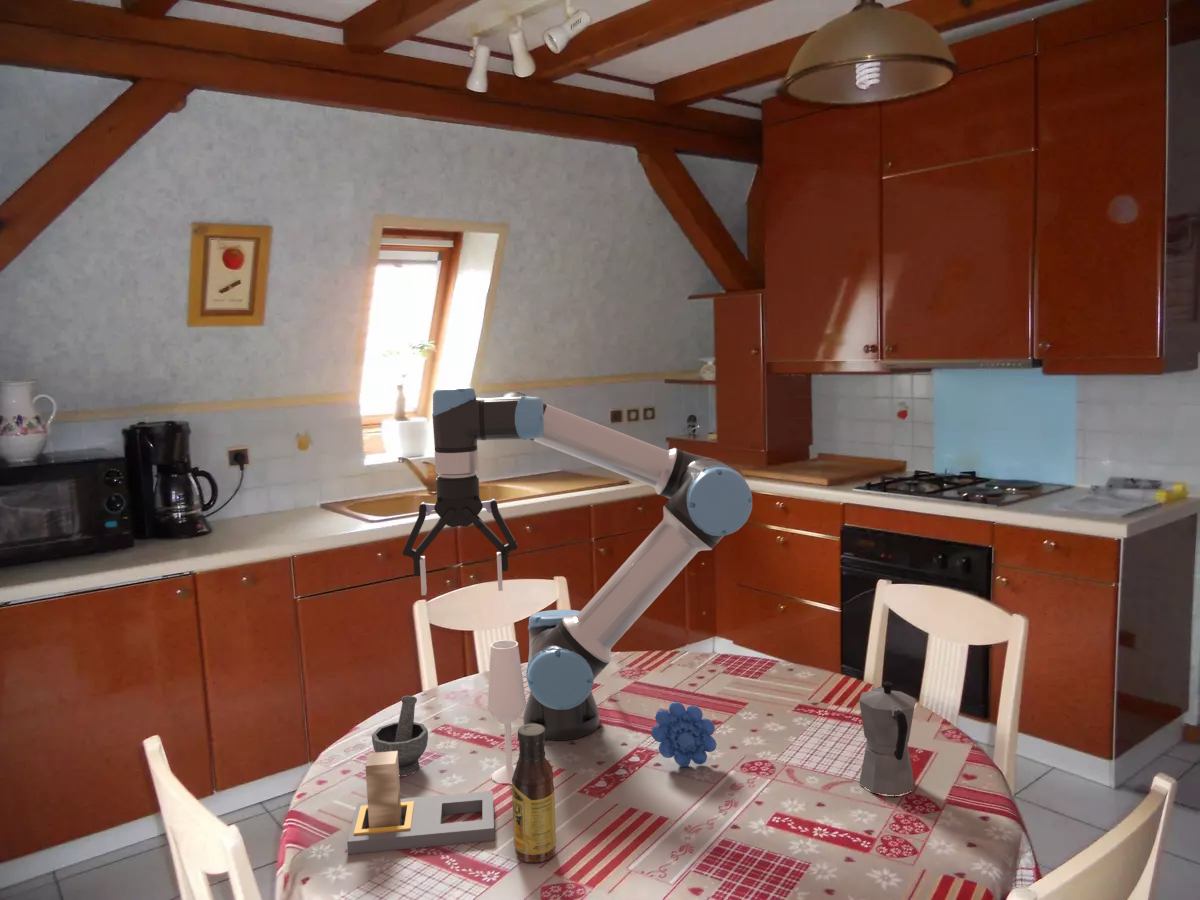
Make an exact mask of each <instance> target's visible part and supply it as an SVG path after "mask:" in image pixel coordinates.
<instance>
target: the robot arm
mask: <svg viewBox="0 0 1200 900" xmlns="http://www.w3.org/2000/svg"><path fill="white" fill-rule="evenodd" d="M543 401H544V400H543V399H542V398H541V397H539V396H528V395H527V394H525V393H523V392H520V391H511V392H507V393H504V394H503V395H501V397H487V398H486V397H477V394H476V391H475V388H474V387H472V386H464V387H463V386H458V387H457V386H453V387H452V386H450V387H440V388H438V389H436V390H435V391H434V392H433V394H432V414H431V415H432V416H431V417H432V425H433V429H432V430H433V444H434V467H435V468H434V469H435V473H436V475H438V476H437V477H436V478H435V488H436V489H435V490H436V502H435V503H427V502H425V501H421V502H420V504H419V508H418V516H417V519H416V521H415V523H414V525H413V528H412V530H411V532H410V534H409V536H408V538H407V541H406V543H405V545H404V547H403V549H402V555H403V556H404V557H409V558H411V559H412V560H413V561H412V562H413V574H414V577H420V589H421V590H420V592H421V593H420V594H421V596H426V595H427V590H428V589H427V570H426V555H423V554H424V553H425V551H426V550H427V549H428V547H429V546H430V545H431V544H432V543H433V541H434V540H435V539H436V537H438V535H439V533H440V532H441V531H442V530H443V529H444V528H445V526H447V527H450V528H457V527H464V528H465V527H468V528H469V526H471V525H473V526H474V527H476V529H478V530H479V531H480V532H481V533H482V534H483V535H484V536H485V538H487V540H488V541H489V542H490V543H491V544H492V545H493V546H494V547H495V548H496V549H497V550H498V551H497V552H496V564H497V566H496V567H497V570H496V571H497V590H498V591H499V592H502V591H504V589H503V572H508V570H509V553H510V552H512V551H516V550H517V549H518V543H517V541H516V539H515V537H514V536H513V534H512V532H511V529H509V527H508V525H507V524H506V521H505V520H504V517H503V516H502V514H501V513H500V510H499V507H498V501H497V499H496V498H493V497H492V498H491V499H490V500H485V501H482V500H481V497H480V477H479V476H478V474H477V473H478V472H479V455H478V454H479V453H478V451H479V450H478V441H495V440H496V441H497V440H499V441H502V440H503V441H504V440H506V441H507V440H522V441H527V440H529V441H533V442H536V443H538V444H541V445H543V446H546V447H549V448H551V449H552V450H553V449H554V450H556V451H559V452H562V453H564V454H567V455H569V456H572V457H575V458H577V459H580V460H582V461H585V462H588V463H590V464H593V465H595V466H598V467H601V468H603V469H606V470H608V471H610V472H613V473H617V474H619V475H622V476H624V477H626V478H629V479H631V480H634V481H636V482H640V483H643V484H644V485H647V486H650V487H652V488H653V489H654V491H655V493H656V494H657V495H659V496H662V497H664V498H667V499H669V500H668V501H667V502H666V503H665V504H664V505H663V506H662V507H663V518H662V520H661V522H660V523H658V525H657V526H655V527H654V529H653V530H652V531H651V532H650V534H648V536H647V537H646V538H645V539H644V540H643V541H642V543H640V544H639V546H638V547H637V548H636V549H635V550H634V551H633V552H632V553H631V555H630V556H628V558H627V559H626V560H625V562H623V564H621V566H620V567H619V568H618V569H617V570H616V571H615V572H614V573H613V574H612V576H611V577H610V578H609V579H608V581H606V583H605V584H604V585H603V586H602V587H601V588H600V589H599V590H598V591H597V592H596V594H594V596H593V597H592V598H591V599H590V600H589V601H588V603H586V605H585V606H584V607H583V608H582V609H581V610H576V609H549V610H544V611H537V612H535V613H532V614H531V615H530V617H529V618H528V626H527V630H528V637H529V638H528V639H529V644H528V647H529V648H528V658H527V659H528V661H527V667H526V673H525V674H526V681H527V683H528V685H527V686H528V689H529V695H528V698H527V700H526V707H525V709H524V711H523V716H522V717H523V718H522V719H523V720H522V721H523V725H526V724H539V725H542V726H544V728H545V735H546V737H545V740H548V741H567V740H575V739H579V738H583V737H585V736H588V735H589V734H591V733H594V732H596V730H597V729H598V728H599V726H600V713H599V712H600V711H599V708H598V706H597V702H596V700H595V698H594V693H593V691H592V689H593V687H594V682H595V681H594V680H595V679H596V678H598V676H599V675H600V674H601V673H602V671H603V670H604V669H605V668H606V667H607V666H608V665H609V663H610V662H611V661H612V651H611V650H612V648H613V647H614V646H615V645H616V643H617V642H618V641H619V640H620V639H621V638H622V637H623V636H624V634H625V633H626V632H627V631H628V630H629V629H630V628H631V627H632V626H633V624H635V622H637V620H638V619H639V618H640V617H641V616H642V614H644V612H645V611H647V609H648V608H649V607H650V606H651V605H652V604H653V602H654V601H655V600H656V599H658V597H659V596H660V595H661V593H662V592H663V591H664V590H666V588H667V587H668V586H669V585H670V584H671V583H672V581H673V580H674V579H675V578H676V577H677V576H678V575H679V574H680V572H682V570H683V569H684V568H685V567H686V566H687V565H688V563H690V562H691V560H692V559H694V557H695V556H696V555H697V554H698V552H701V551H712V550H713V549H714V548H715V546H716V545H717V544H719V542H720V541H721V540H722V539H723V538H724V537H725V536H728V535H730V534H734V533H735V532H737V531H739V530H740V529H741V528H742V527H743V526H744V525H745V524H746V523H747V521H748V519H749V517H750V515H751V513H752V509H753V495H752V491H751V488H750V486H749V484H748V483H747V481H746V479H745V478H744V477H743V475H742V474H741V473H740V472H738V471H737V470H735V469H734V467H730V466H729V465H727V464H726V463H725V462H723V461H720V460H718V459H715V458H711V457H707V456H702V455H699V454H694V453H691V452H688V451H685V450H682V449H680V448H676V447H673V448H671V449H664V448H662V447H659V446H657V445H654V444H651V443H649V442H646V441H644V440H641V439H639V438H636V437H633V436H630V435H628V434H625V433H623V432H620V431H618V430H615V429H612V428H610V427H607V426H605V425H602V424H599V423H596V422H595V421H592V420H589V419H588V418H584V417H581V416H578V415H576V414H574V413H571V412H569V411H566V410H563V409H560V408H558V407H555V406H553V405H550V404H546V403H544V402H543ZM483 509H485V510H486V511H487V513H491V515H492V517H493V519H494V521H495V523H496V525H497V526H498V529H500V531H501V533H502V535H503V537H504V538H505V540H506V542H507V543H506V544H505V543H504V542H503V541H502V540H501V539H500V537H499V536H498V535H496V534H495V532H494V530H493V531H492V529H491V528H490V527H489V526H488V525H487V524H486V523H485V522H484V521H483V520H482V518H481V517H480V516H479V515H480V513H481V511H482V510H483ZM433 511H434V512H435V514H437V515H438V516H439V519H438V520H437V521H436V523H435V525H434V526H433V527H432V528H431V530H430V531H429V532H428V533H427V535H426V536H425V537H424V539H422V541H421V542H420V544H419V545H418V546H417V547H416V548H415V549H414V548H413V547H414V544H415V542H416V539H417V538H418V536H419V533H420V531H421V529H422V527H423V524H424V523H425V519H426V517H427V516H428V517H429V516H430V515H431V513H432V512H433Z"/></svg>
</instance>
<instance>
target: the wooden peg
mask: <svg viewBox="0 0 1200 900" xmlns="http://www.w3.org/2000/svg"><path fill="white" fill-rule="evenodd" d="M365 778H366V779H365V780H366V781H365V782H366V796H367V799H366V800H367V802H368V817H369V822H368V829H370V828H381V827H392V826H402V823H403V822H402V821H403V819H402V818H401V799H402V798H401V785H400V784H401V783H400V777H399V763H398V751H389V752H377V753H376V752H368V755H367V759H366V763H365Z"/></svg>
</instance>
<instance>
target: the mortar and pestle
mask: <svg viewBox="0 0 1200 900" xmlns="http://www.w3.org/2000/svg"><path fill="white" fill-rule="evenodd" d="M400 701H401V707H400V712H399V713H400V714H399V718H398V721H396V722H391V723H388V724H384V726H380V727H378V728H377V729H376V730H375V731H374V732H373V733H372V734H371V741H372V747H373V749H374V753H377V752H389V751H398V763H399V775H400V777H403V776H402V775H407V776H409V775H408V774H410V775H412V774H414V773H413V772H415V771H416V770H417V769H420V763H419V759H420V758H421V757H422V755H423V754H424V753H425V750H426V748H428V747H427V746H428V742H429V730H428V729H427V727H426V725H424V724H423V723H421V722H420V723H419V722H415V721H414V720H415V709H416V703H417V702H418V698H417V697H415V696H413V695H404V696H401V700H400ZM417 771H418V770H417ZM417 771H416V772H417ZM416 772H415V773H416ZM411 773H412V774H411Z"/></svg>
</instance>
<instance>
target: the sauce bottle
mask: <svg viewBox="0 0 1200 900" xmlns="http://www.w3.org/2000/svg"><path fill="white" fill-rule="evenodd" d="M545 737H546V735H545V728H544V726H542V725H539V724H526V725H524V724H523V725H522V726H520V727H518V730H517V740H518V741H519V742H518V743H519V745H518V746H519V749H518V750H519V753H518V760H517V762H516V765H515V766H516V768H515V771H514V775H513V778H512V785H511V795H512V818H513V819H512V821H513V822H512V824H513V846H514V850H515V854H516V856H517V857H518V859H519V860H520V861H522V862H525V863H533V864H534V863H542V862H545V861H547V860H549V859H551V858H552V857H553V856H554V853H555V850H556V841H557V837H556V836H557V835H556V834H557V833H556V805H555V804H556V801H555V800H556V799H555V796H556V795H555V785H554V771H553V767H552V765H551V763H550V762H549V760H548V759H547V758H546V751H545V748H546V747H545V740H546V739H545Z"/></svg>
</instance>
